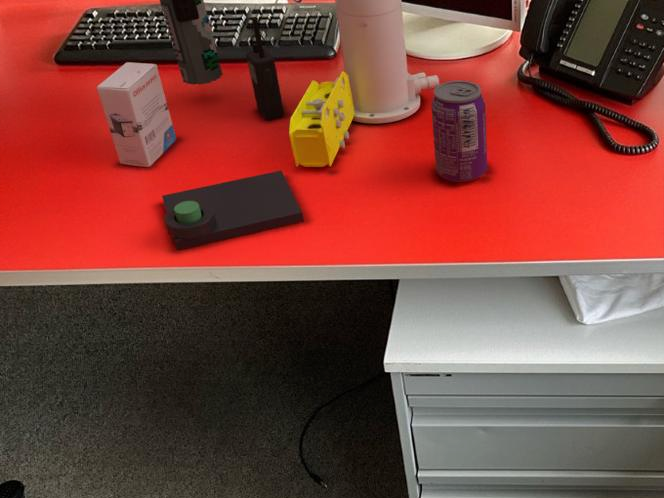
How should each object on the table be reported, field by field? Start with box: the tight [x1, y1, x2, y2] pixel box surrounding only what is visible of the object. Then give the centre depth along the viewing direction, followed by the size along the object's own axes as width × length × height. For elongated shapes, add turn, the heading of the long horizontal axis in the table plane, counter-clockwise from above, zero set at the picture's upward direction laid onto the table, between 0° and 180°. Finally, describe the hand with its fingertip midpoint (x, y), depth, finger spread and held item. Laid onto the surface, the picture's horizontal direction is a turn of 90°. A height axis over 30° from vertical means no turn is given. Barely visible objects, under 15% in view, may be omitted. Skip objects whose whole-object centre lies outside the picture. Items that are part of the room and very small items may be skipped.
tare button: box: [174, 201, 202, 223], centre depth 111 cm, size 3×3×2 cm
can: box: [159, 0, 224, 86], centre depth 135 cm, size 6×6×15 cm
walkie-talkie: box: [245, 16, 285, 121], centre depth 134 cm, size 5×3×15 cm
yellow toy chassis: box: [288, 70, 355, 168], centre depth 128 cm, size 16×6×8 cm, turn 175°
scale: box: [161, 169, 305, 251], centre depth 116 cm, size 16×12×3 cm
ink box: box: [96, 61, 177, 168], centre depth 126 cm, size 9×5×12 cm, turn 168°
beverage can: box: [430, 80, 488, 183], centre depth 119 cm, size 7×7×12 cm
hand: (184, 11), depth 134 cm, fingers closed on can, 6 cm apart
